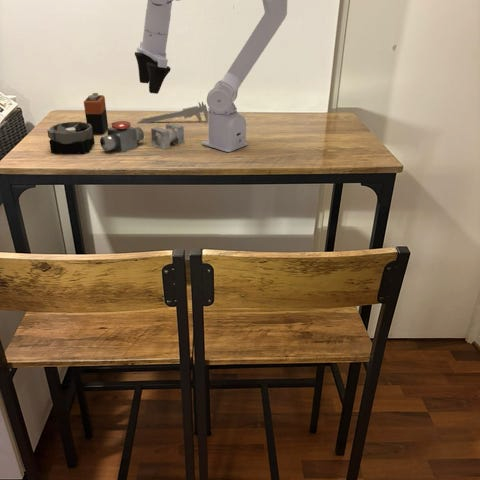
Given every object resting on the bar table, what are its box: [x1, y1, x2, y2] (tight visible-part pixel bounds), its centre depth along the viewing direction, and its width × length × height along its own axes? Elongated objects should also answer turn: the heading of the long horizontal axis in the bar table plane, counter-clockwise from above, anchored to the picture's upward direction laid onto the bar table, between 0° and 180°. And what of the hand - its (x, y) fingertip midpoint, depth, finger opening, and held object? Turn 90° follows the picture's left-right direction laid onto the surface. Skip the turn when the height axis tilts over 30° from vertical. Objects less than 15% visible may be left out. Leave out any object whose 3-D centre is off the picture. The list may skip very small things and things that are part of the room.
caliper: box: [136, 101, 208, 124], centre depth 143 cm, size 21×1×6 cm, turn 96°
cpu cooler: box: [46, 121, 96, 155], centre depth 122 cm, size 10×6×10 cm
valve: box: [99, 120, 145, 153], centre depth 123 cm, size 11×5×6 cm, turn 140°
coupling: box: [150, 122, 185, 151], centre depth 126 cm, size 7×5×5 cm, turn 140°
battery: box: [83, 92, 109, 135], centre depth 133 cm, size 4×7×10 cm, turn 2°
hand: (148, 87), depth 123 cm, fingers open, 7 cm apart
